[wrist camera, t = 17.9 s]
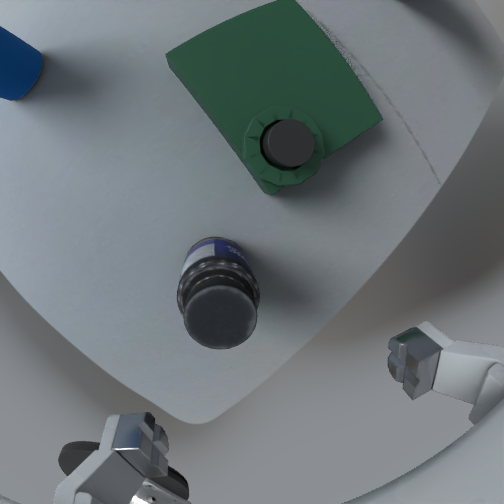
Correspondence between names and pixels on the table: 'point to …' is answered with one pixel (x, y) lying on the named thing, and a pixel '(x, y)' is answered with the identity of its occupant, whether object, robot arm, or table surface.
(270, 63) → the dispenser
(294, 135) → the dark grey short cylinder
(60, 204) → the table surface
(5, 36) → the beverage can
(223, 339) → the pill bottle
